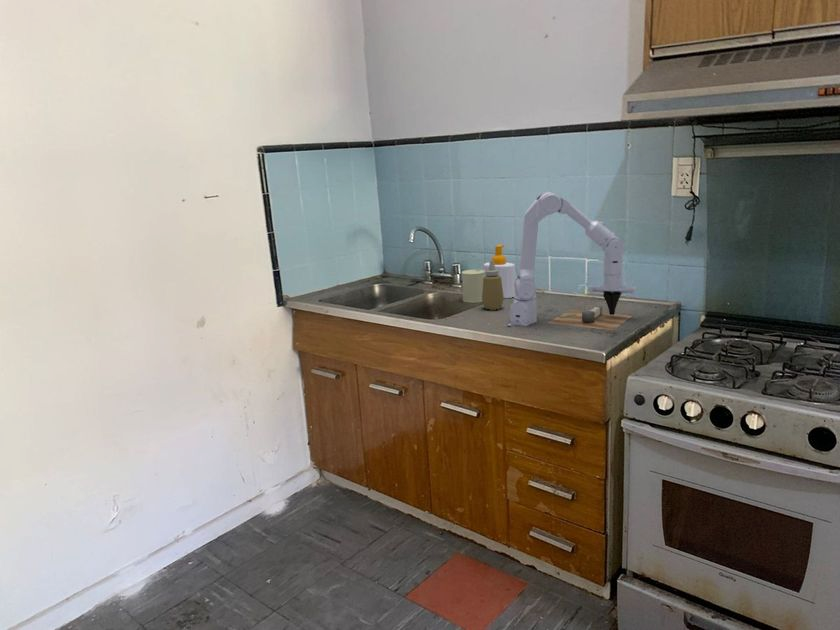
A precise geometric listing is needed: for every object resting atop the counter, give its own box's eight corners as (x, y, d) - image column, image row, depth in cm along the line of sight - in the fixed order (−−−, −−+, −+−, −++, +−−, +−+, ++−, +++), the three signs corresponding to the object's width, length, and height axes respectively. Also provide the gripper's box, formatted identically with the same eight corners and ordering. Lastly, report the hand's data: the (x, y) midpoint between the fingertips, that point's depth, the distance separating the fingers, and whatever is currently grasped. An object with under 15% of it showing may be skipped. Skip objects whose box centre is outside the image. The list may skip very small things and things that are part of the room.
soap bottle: (519, 295, 252) (518, 245, 247) (510, 299, 246) (509, 248, 241) (489, 293, 260) (488, 244, 255) (480, 297, 253) (478, 247, 248)
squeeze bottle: (508, 309, 231) (506, 260, 227) (488, 312, 228) (487, 263, 224) (497, 305, 238) (496, 258, 234) (478, 307, 236) (476, 260, 231)
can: (490, 299, 249) (489, 269, 246) (476, 304, 242) (475, 273, 239) (472, 296, 255) (471, 267, 252) (457, 301, 248) (456, 271, 245)
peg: (591, 323, 202) (592, 314, 201) (580, 321, 204) (580, 313, 203) (605, 314, 212) (605, 305, 211) (594, 313, 214) (594, 304, 213)
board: (613, 333, 194) (613, 329, 193) (547, 325, 206) (547, 322, 206) (632, 318, 208) (632, 315, 208) (569, 312, 221) (569, 309, 221)
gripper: (637, 271, 205) (636, 312, 208) (592, 270, 211) (592, 310, 214) (635, 276, 198) (633, 317, 202) (588, 274, 205) (588, 315, 208)
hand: (612, 314), depth 207 cm, fingers closed
